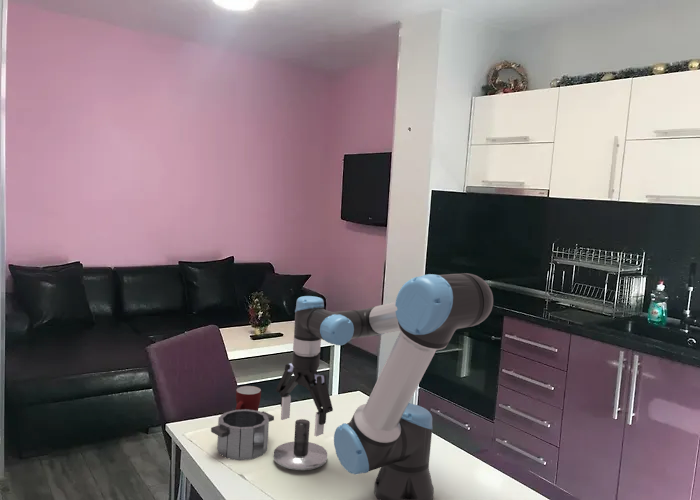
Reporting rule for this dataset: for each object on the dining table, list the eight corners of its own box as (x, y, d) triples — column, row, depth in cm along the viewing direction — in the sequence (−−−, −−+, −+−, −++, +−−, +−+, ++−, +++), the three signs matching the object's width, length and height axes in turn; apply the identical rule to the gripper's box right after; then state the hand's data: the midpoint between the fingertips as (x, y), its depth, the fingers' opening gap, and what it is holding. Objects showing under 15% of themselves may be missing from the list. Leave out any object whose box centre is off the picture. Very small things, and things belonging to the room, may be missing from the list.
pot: (282, 447, 169) (284, 418, 168) (230, 467, 155) (232, 435, 154) (252, 432, 178) (253, 404, 177) (200, 449, 164) (202, 419, 163)
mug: (250, 429, 180) (251, 398, 179) (226, 425, 182) (228, 394, 181) (263, 417, 190) (265, 388, 189) (241, 413, 192) (242, 384, 191)
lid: (337, 463, 161) (340, 423, 160) (299, 481, 150) (301, 438, 149) (301, 445, 171) (303, 407, 170) (262, 461, 160) (264, 420, 159)
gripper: (349, 361, 152) (343, 437, 155) (286, 339, 168) (281, 409, 171) (329, 367, 147) (324, 446, 149) (266, 343, 163) (262, 415, 165)
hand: (301, 426), depth 160 cm, fingers open, 13 cm apart
